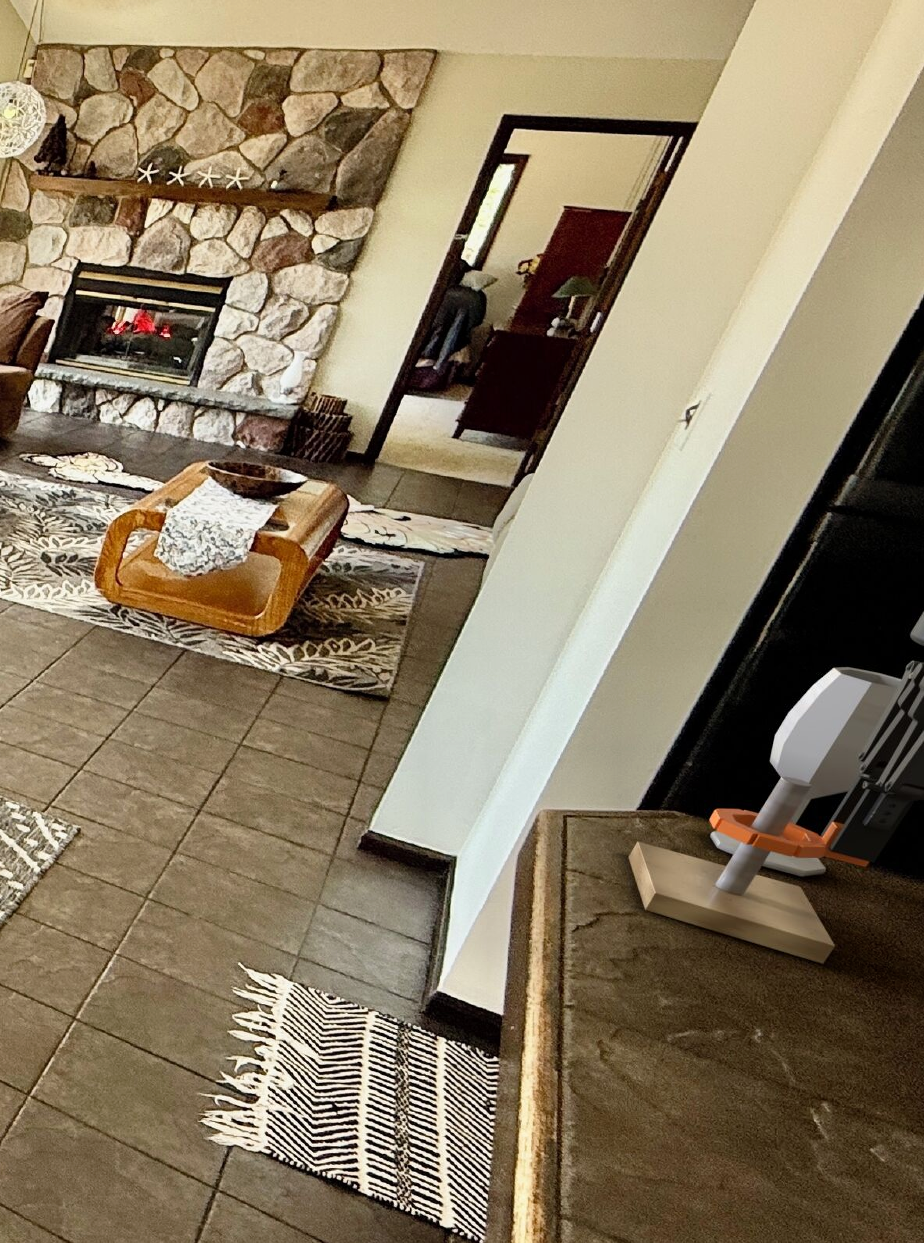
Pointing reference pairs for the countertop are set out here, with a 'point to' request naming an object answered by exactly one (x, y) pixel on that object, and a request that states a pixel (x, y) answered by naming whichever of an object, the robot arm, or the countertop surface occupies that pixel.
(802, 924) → the board
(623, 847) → the countertop surface
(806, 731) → the wineglass
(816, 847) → the ring
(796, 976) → the countertop surface
